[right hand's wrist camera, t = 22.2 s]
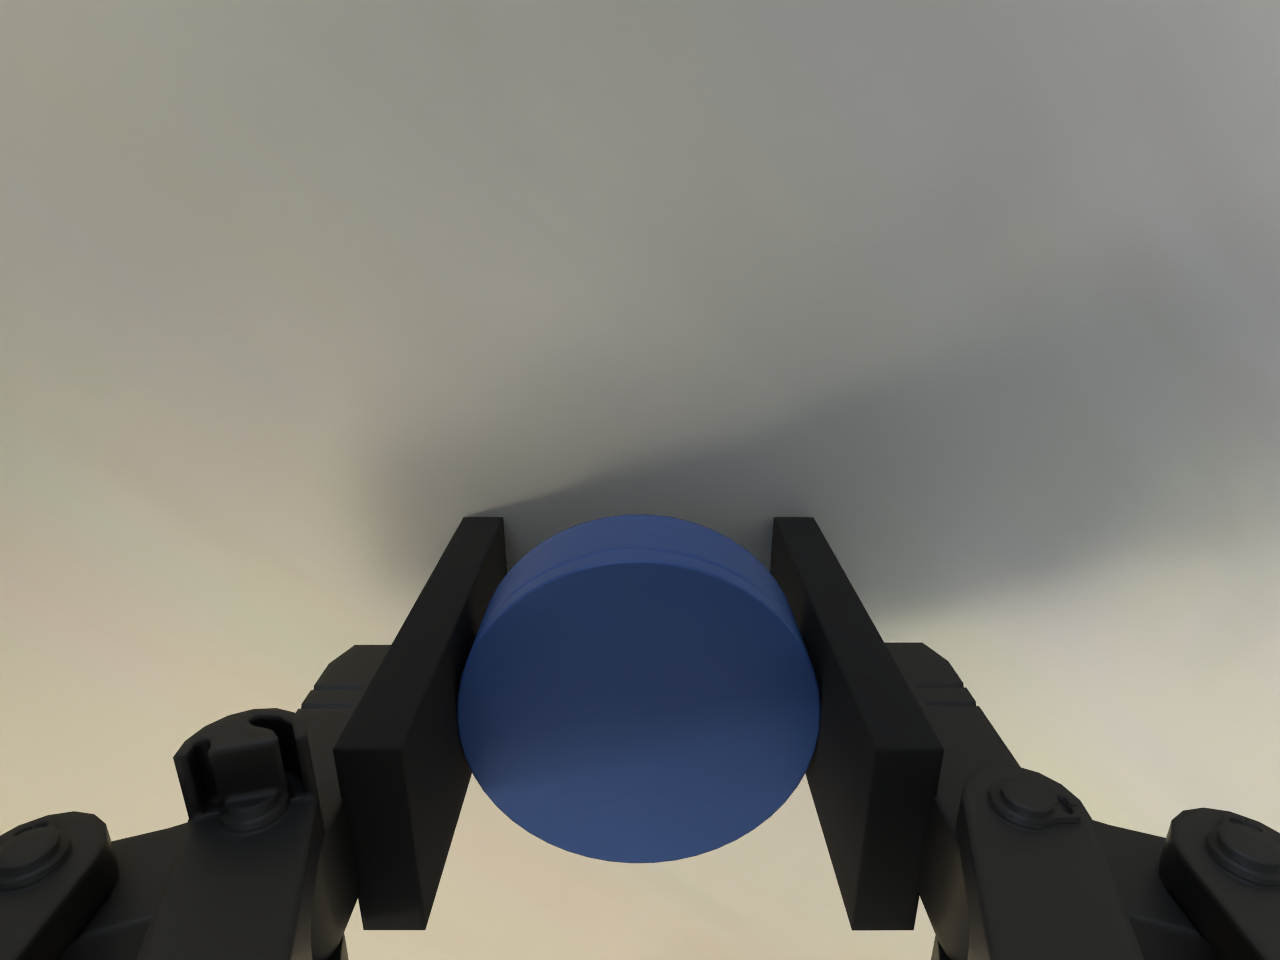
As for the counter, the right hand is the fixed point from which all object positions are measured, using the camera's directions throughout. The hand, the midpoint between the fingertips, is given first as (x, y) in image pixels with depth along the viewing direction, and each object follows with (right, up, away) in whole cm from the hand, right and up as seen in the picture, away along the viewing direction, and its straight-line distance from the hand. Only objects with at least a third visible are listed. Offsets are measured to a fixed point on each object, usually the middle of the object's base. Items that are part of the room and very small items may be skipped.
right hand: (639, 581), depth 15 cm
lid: (0, -1, -4) cm, 4 cm away
